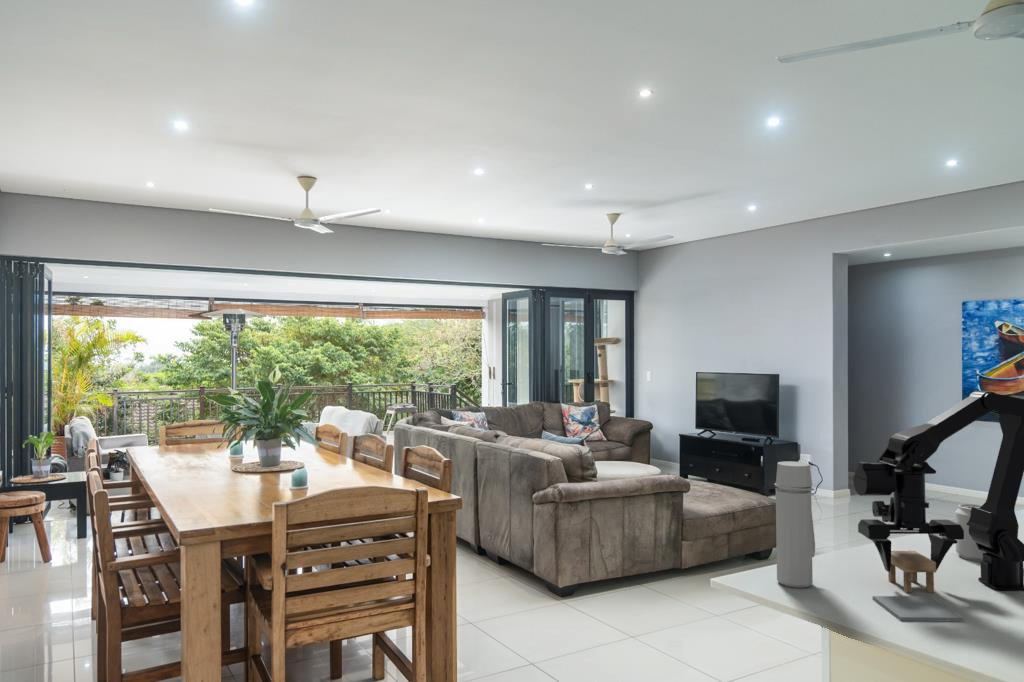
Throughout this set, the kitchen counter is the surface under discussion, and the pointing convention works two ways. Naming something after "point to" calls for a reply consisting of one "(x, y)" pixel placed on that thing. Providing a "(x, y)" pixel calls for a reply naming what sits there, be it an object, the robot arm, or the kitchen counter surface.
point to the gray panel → (916, 608)
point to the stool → (912, 568)
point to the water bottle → (794, 524)
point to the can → (967, 534)
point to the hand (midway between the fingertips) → (910, 571)
